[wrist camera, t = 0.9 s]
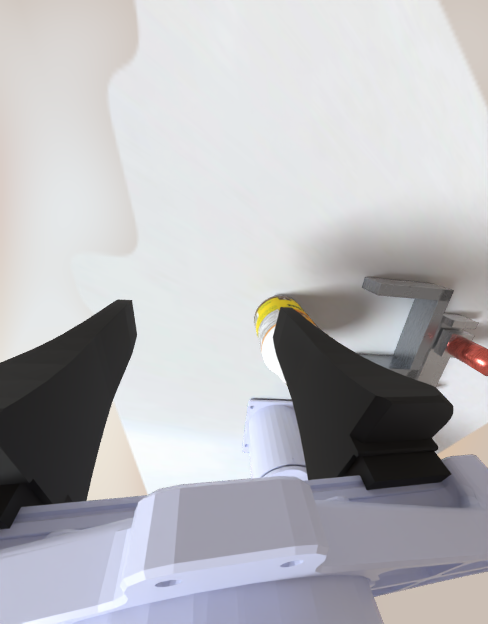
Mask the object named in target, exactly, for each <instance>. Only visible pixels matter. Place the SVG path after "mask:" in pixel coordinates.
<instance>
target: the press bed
mask: <svg viewBox="0 0 488 624" xmlns="http://www.w3.org/2000/svg"><path fill="white" fill-rule="evenodd" d="M362 288H364V289H366V290H368V291H370V292H372V293H374V294H376V295H381V296H393V297H404V298H415V300H414V302H413V305H412V308H411V310H410V313H409V315H408V318H407V321H406V323H405V326H404V329H403V331H402V334H401V336H400V339H399V342H398V344H397V347H396V350H395V352H394V355H393V356H385V355H368V354H359V355H360V356H362V357H364V358H366V359H368V360H370V361H372V362H374V363H376V364H378V365H381V366H383V367H385V368H387V369H390V370H392V371H394V372H397V373H399V374H402V375H404V376H407V377H410V378H413V379H415V378H416V376H417V374H418V371H419V369H420V367H421V365H422V362H423V360H424V358H425V355H426V353H427V351H428V349H429V346H430V344H431V342H432V339H433V337H434V335H435V333H436V330H437V328H438V326H439V323H440V321H441V319H442V317H443V314H444V312H445V310H446V307H447V305H448V303H449V301H450V298H451V296H452V294H453V291H454V290H451V289H448V288H445V287H441V286H438V285H435V284H432V283H423V282H413V281H402V280H391V279H381V278H370V277H365V279H364V283H363V286H362Z"/></svg>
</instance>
